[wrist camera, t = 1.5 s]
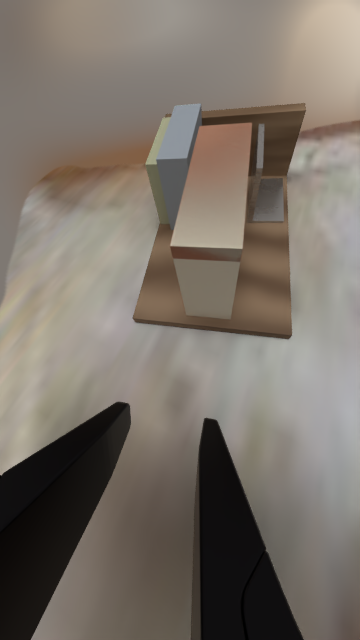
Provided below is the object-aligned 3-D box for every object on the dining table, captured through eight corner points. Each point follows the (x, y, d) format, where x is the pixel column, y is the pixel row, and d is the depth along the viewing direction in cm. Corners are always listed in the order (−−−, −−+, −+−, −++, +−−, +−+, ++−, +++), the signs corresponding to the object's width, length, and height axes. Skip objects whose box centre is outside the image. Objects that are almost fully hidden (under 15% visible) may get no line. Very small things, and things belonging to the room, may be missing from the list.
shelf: (288, 338, 22) (326, 296, 15) (135, 322, 25) (104, 280, 18) (284, 175, 32) (305, 103, 25) (175, 178, 35) (166, 114, 28)
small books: (193, 230, 28) (186, 158, 21) (159, 229, 29) (140, 160, 21) (203, 179, 32) (201, 103, 25) (173, 180, 33) (161, 106, 25)
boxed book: (230, 319, 22) (242, 248, 13) (186, 315, 23) (169, 246, 14) (239, 219, 28) (252, 122, 19) (203, 219, 29) (199, 126, 20)
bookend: (283, 223, 27) (302, 166, 21) (247, 222, 27) (256, 168, 22) (282, 180, 30) (299, 121, 24) (250, 181, 31) (258, 123, 25)
